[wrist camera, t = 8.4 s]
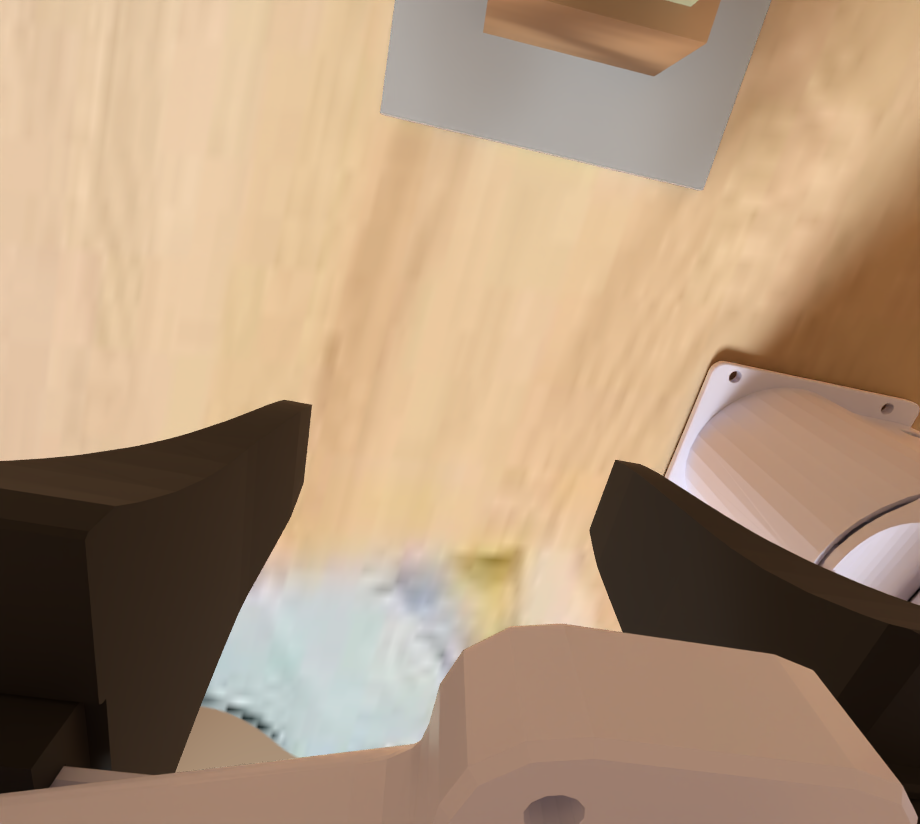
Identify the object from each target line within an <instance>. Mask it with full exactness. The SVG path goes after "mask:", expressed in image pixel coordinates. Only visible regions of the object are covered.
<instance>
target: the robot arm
mask: <svg viewBox="0 0 920 824" xmlns="http://www.w3.org/2000/svg"><path fill="white" fill-rule="evenodd" d="M734 371H737V375H736V377H735V378H734V379H732V380H729V375H730V374H731V373H732V372H734ZM885 404H887V405H886V407H885V408H884V409H883V410H881V409H882V407H883V406H884V405H885ZM311 409H312V405H310V404H304V403H299V402H293V401H288V400H282V401H278V402H275V403H272V404H269V405H267V406H264V407H261V408H259V409H256V410H254V411H251V412H249V413H246V414H243V415H241V416H238V417H236V418H233V419H230V420H228V421H225V422H222V423H219V424H216V425H213V426H210V427H207V428H204V429H201V430H198V431H195V432H192V433H189V434H185V435H182V436H178V437H174V438H171V439H167V440H162V441H158V442H154V443H149V444H145V445H140V446H135V447H129V448H123V449H116V450H110V451H103V452H97V453H90V454H83V455H75V456H65V457H55V458H44V459H29V460H14V461H0V824H920V431H918V430H916V429H914V428H912V427H911V426H912V424H913V423H914V421H915V419H916V418H917V416H918V414H919V411H920V408H919V406H918V404H916V403H914V402H912V401H910V400H907V399H902V398H897V397H892V396H888V395H883V394H878V393H874V392H869V391H864V390H859V389H855V388H850V387H845V386H840V385H836V384H831V383H826V382H822V381H817V380H812V379H807V378H803V377H798V376H793V375H788V374H784V373H779V372H774V371H770V370H765V369H760V368H755V367H751V366H746V365H741V364H736V363H732V362H727V361H719V362H716V363H715V364H713V365H712V366H711V368H710V369H709V371H708V374H707V376H706V378H705V381H704V383H703V386H702V388H701V390H700V393H699V395H698V398H697V400H696V403H695V405H694V407H693V410H692V412H691V415H690V417H689V419H688V422H687V424H686V427H685V429H684V431H683V434H682V436H681V439H680V441H679V443H678V446H677V448H676V451H675V453H674V455H673V458H672V460H671V463H670V465H669V468H668V470H667V472H666V475H665V477H664V476H662V475H660V474H659V473H657V472H655V471H653V470H651V469H649V468H647V467H645V466H643V465H641V464H636V463H631V462H625V461H619V460H615V462H614V465H613V468H612V470H611V473H610V476H609V478H608V481H607V484H606V487H605V489H604V492H603V495H602V497H601V500H600V503H599V506H598V508H597V511H596V514H595V516H594V519H593V522H592V524H591V527H590V535H591V541H592V546H593V551H594V555H595V559H596V563H597V567H598V570H599V572H600V575H601V578H602V580H603V583H604V586H605V588H606V591H607V594H608V596H609V599H610V601H611V604H612V606H613V609H614V611H615V614H616V616H617V619H618V621H619V624H620V627H621V629H622V632H616V631H609V630H602V629H595V628H588V627H581V626H574V625H567V624H545V625H528V626H512V627H509V628H507V629H505V630H503V631H501V632H499V633H497V634H495V635H493V636H491V637H489V638H487V639H485V640H483V641H481V642H479V643H477V644H475V645H473V646H471V647H469V648H467V649H465V650H463V651H462V653H461V654H460V656H459V657H458V659H457V660H456V662H455V663H454V665H453V666H452V668H451V669H450V671H449V672H448V673H447V675H446V676H445V678H444V679H443V681H442V682H441V684H440V686H439V690H438V693H437V697H436V701H435V704H434V708H433V712H432V715H431V719H430V723H429V725H428V727H427V729H426V731H425V733H424V735H423V738H422V739H421V740H420V741H419V742H417V743H415V744H410V745H402V746H393V747H385V748H377V749H368V750H360V751H352V752H343V753H335V754H327V755H318V756H310V757H302V758H293V759H286V760H278V761H269V762H261V763H253V764H244V765H235V766H227V767H219V768H211V769H202V770H194V771H186V772H177V773H175V771H176V768H177V766H178V763H179V760H180V757H181V755H182V753H183V750H184V748H185V745H186V742H187V739H188V737H189V734H190V731H191V729H192V727H193V724H194V721H195V718H196V716H197V714H198V711H199V708H200V706H201V703H202V701H203V698H204V696H205V693H206V691H207V688H208V686H209V683H210V681H211V678H212V676H213V673H214V671H215V668H216V666H217V663H218V661H219V658H220V656H221V654H222V651H223V649H224V646H225V644H226V642H227V639H228V637H229V635H230V632H231V630H232V627H233V625H234V623H235V620H236V618H237V616H238V613H239V611H240V609H241V607H242V605H243V603H244V601H245V599H246V597H247V595H248V593H249V591H250V590H251V588H252V586H253V584H254V582H255V581H256V579H257V577H258V575H259V574H260V572H261V570H262V568H263V566H264V565H265V563H266V561H267V559H268V557H269V556H270V554H271V552H272V550H273V548H274V547H275V545H276V543H277V541H278V539H279V538H280V536H281V534H282V532H283V530H284V529H285V527H286V525H287V523H288V521H289V519H290V517H291V515H292V512H293V510H294V507H295V505H296V502H297V499H298V497H299V494H300V491H301V488H302V486H303V483H304V474H305V464H306V455H307V446H308V437H309V427H310V418H311Z"/></svg>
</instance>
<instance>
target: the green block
mask: <svg viewBox="0 0 920 824" xmlns="http://www.w3.org/2000/svg"><path fill="white" fill-rule="evenodd" d="M667 1H671V2H674V3H678V4H682V5H686V6H690V7H691V6H692V5H693V4H695V3H696V2H697V1H698V0H667Z"/></svg>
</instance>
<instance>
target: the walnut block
mask: <svg viewBox="0 0 920 824" xmlns="http://www.w3.org/2000/svg"><path fill="white" fill-rule="evenodd" d="M720 1H721V0H698V1H697V2H696V3H695V4H693V5H692V6H691V7H690V6H686V5H682V4H678V3H674V2H671V1H667V0H488V2H487V8H486V15H485V22H484V29H483V33H487V34H490V35H494V36H498V37H502V38H506V39H510V40H514V41H518V42H522V43H525V44H529V45H533V46H537V47H541V48H545V49H549V50H553V51H557V52H560V53H564V54H568V55H572V56H576V57H580V58H584V59H588V60H592V61H595V62H599V63H603V64H607V65H611V66H615V67H619V68H623V69H627V70H630V71H634V72H638V73H642V74H646V75H650V76H656V75H657V74H659V73H661V72H662V71H664V70H665V69H667V68H668V67H670V66H672V65H673V64H675V63H676V62H678V61H679V60H681V59H683V58H684V57H686V56H687V55H689V54H690V53H692V52H694V51H695V50H697V49H698V48H700V47H701V46H703V45H705V44H706V43H707V41H708V38H709V35H710V32H711V29H712V26H713V23H714V20H715V16H716V13H717V10H718V7H719V4H720Z"/></svg>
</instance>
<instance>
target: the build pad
mask: <svg viewBox="0 0 920 824" xmlns="http://www.w3.org/2000/svg"><path fill="white" fill-rule="evenodd" d="M487 2H488V0H395V5H394V12H393V20H392V28H391V35H390V43H389V50H388V58H387V65H386V73H385V80H384V88H383V96H382V103H381V111H380V113H381V114H382V115H386V116H391V117H395V118H399V119H403V120H407V121H411V122H416V123H420V124H424V125H428V126H432V127H436V128H441V129H445V130H449V131H453V132H457V133H461V134H466V135H470V136H474V137H478V138H482V139H487V140H491V141H495V142H499V143H503V144H507V145H512V146H516V147H520V148H524V149H528V150H532V151H537V152H541V153H545V154H549V155H553V156H557V157H562V158H566V159H570V160H574V161H578V162H582V163H587V164H591V165H595V166H599V167H603V168H608V169H612V170H616V171H620V172H624V173H628V174H633V175H637V176H641V177H645V178H649V179H653V180H658V181H662V182H666V183H670V184H674V185H678V186H683V187H687V188H691V189H695V190H703V189H704V186H705V183H706V180H707V178H708V175H709V172H710V169H711V167H712V164H713V161H714V158H715V156H716V153H717V150H718V147H719V144H720V142H721V139H722V136H723V133H724V131H725V128H726V125H727V122H728V119H729V117H730V114H731V111H732V108H733V106H734V103H735V100H736V97H737V94H738V92H739V89H740V86H741V83H742V81H743V78H744V75H745V72H746V69H747V67H748V64H749V61H750V58H751V56H752V53H753V50H754V47H755V44H756V42H757V39H758V36H759V33H760V31H761V28H762V25H763V22H764V19H765V17H766V14H767V11H768V8H769V6H770V3H771V0H721V1H720V4H719V7H718V10H717V13H716V16H715V20H714V23H713V26H712V29H711V32H710V35H709V38H708V41H707V43H706V44H705V45H703V46H701V47H700V48H698V49H697V50H695V51H694V52H692V53H690V54H689V55H687V56H686V57H684V58H683V59H681V60H679V61H678V62H676V63H675V64H673V65H672V66H670V67H668V68H667V69H665V70H664V71H662V72H661V73H659V74H657V75H656V76H650V75H646V74H642V73H638V72H634V71H630V70H627V69H623V68H619V67H615V66H611V65H607V64H603V63H599V62H595V61H592V60H588V59H584V58H580V57H576V56H572V55H568V54H564V53H560V52H557V51H553V50H549V49H545V48H541V47H537V46H533V45H529V44H525V43H522V42H518V41H514V40H510V39H506V38H502V37H498V36H494V35H490V34H487V33H483V29H484V22H485V15H486V8H487Z"/></svg>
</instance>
